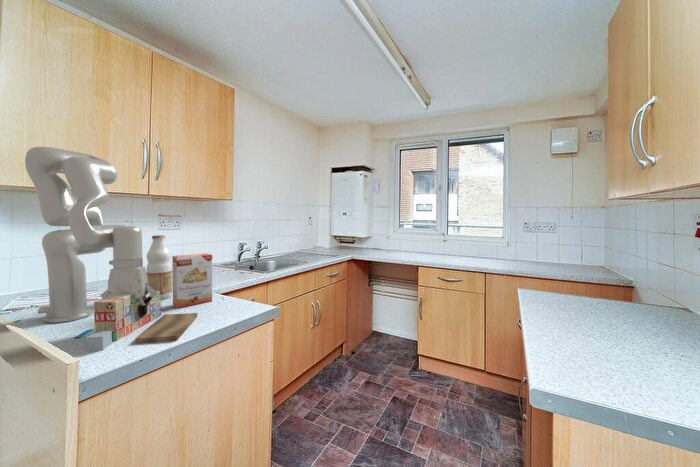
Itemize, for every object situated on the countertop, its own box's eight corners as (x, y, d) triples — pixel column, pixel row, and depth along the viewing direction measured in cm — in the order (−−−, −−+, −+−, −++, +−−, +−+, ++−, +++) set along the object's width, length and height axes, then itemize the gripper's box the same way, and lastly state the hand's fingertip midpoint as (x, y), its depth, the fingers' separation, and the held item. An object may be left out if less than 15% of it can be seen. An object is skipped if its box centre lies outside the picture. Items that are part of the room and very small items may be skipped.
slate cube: (86, 351, 78) (85, 337, 78) (95, 345, 82) (95, 331, 81) (103, 350, 79) (102, 336, 78) (111, 343, 83) (111, 330, 82)
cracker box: (177, 308, 113) (176, 257, 111) (172, 305, 117) (171, 255, 115) (213, 301, 123) (212, 254, 122) (207, 298, 127) (207, 252, 126)
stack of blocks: (144, 315, 105) (143, 283, 104) (161, 315, 105) (160, 283, 105) (94, 341, 84) (93, 300, 83) (116, 341, 84) (115, 301, 83)
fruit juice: (146, 301, 121) (144, 236, 119) (148, 296, 129) (146, 235, 127) (172, 298, 126) (170, 236, 124) (172, 293, 134) (171, 234, 132)
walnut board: (135, 343, 83) (135, 338, 83) (164, 318, 102) (164, 314, 102) (176, 340, 85) (176, 335, 85) (197, 316, 105) (197, 312, 105)
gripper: (89, 266, 87) (92, 322, 88) (152, 265, 91) (154, 319, 92) (105, 262, 94) (107, 314, 96) (163, 261, 98) (164, 311, 99)
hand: (130, 316), depth 94 cm, fingers closed on stack of blocks, 6 cm apart
